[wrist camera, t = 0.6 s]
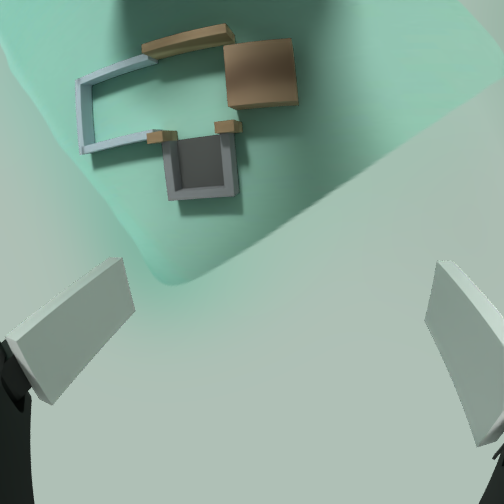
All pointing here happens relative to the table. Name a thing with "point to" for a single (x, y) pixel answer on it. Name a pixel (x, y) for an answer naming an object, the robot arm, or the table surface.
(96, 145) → the dock
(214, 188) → the trap pit
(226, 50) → the block
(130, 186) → the table surface
